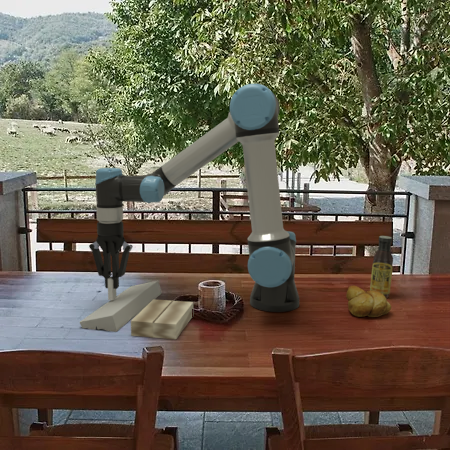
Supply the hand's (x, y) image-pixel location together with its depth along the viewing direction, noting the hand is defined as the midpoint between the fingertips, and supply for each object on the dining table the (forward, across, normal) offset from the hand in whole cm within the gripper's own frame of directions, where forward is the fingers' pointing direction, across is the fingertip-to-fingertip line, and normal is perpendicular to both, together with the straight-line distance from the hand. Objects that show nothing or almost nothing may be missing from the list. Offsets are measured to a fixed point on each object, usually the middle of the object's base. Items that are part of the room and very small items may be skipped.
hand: (112, 298), depth 153 cm
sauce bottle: (+3, -80, -28) cm, 85 cm away
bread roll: (+3, -76, -10) cm, 76 cm away
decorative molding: (+3, -4, +1) cm, 5 cm away
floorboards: (+3, -20, +11) cm, 23 cm away
